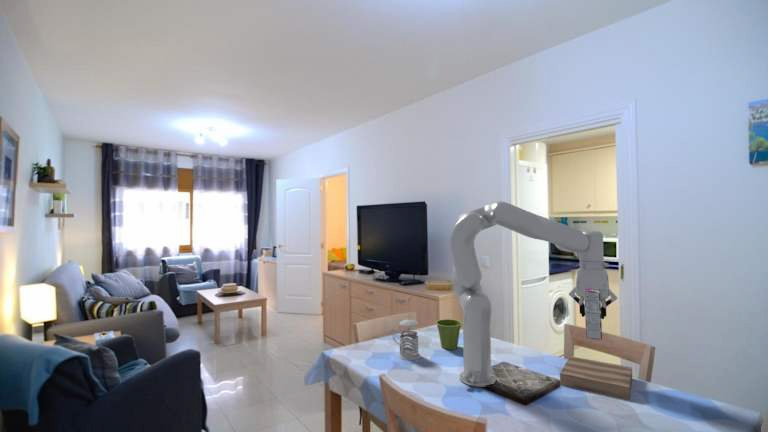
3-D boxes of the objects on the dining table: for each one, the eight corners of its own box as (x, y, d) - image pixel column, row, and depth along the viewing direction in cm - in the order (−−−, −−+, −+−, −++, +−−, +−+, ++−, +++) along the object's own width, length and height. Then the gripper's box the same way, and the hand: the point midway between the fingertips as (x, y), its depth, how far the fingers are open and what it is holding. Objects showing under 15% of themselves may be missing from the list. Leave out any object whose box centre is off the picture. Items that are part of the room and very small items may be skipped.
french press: (421, 359, 153) (420, 299, 154) (393, 360, 153) (392, 299, 154) (419, 351, 163) (419, 294, 164) (393, 352, 163) (392, 294, 164)
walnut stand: (629, 400, 116) (629, 387, 116) (560, 384, 128) (560, 373, 128) (632, 378, 133) (631, 367, 133) (570, 366, 144) (570, 356, 144)
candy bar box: (585, 330, 137) (584, 285, 138) (600, 332, 135) (599, 286, 135) (585, 338, 127) (584, 290, 128) (602, 340, 125) (600, 291, 126)
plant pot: (431, 345, 171) (430, 320, 172) (452, 341, 176) (452, 318, 177) (445, 353, 161) (445, 327, 161) (468, 349, 166) (467, 323, 166)
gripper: (620, 266, 130) (622, 318, 129) (567, 263, 140) (568, 312, 139) (619, 268, 124) (620, 323, 123) (563, 265, 134) (564, 316, 133)
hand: (592, 316), depth 131 cm, fingers closed on candy bar box, 5 cm apart
